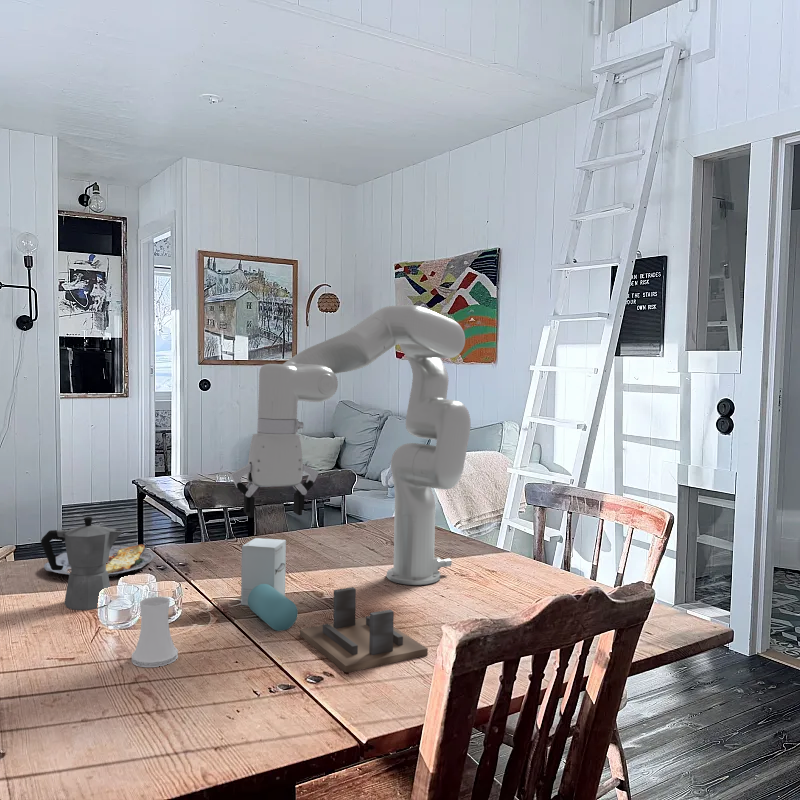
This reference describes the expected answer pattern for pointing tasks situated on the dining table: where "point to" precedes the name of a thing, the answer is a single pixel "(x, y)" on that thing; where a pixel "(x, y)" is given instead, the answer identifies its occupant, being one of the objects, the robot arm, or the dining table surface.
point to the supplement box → (263, 565)
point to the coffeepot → (83, 561)
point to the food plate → (114, 560)
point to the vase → (154, 635)
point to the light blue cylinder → (272, 607)
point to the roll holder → (361, 637)
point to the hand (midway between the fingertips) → (274, 515)
